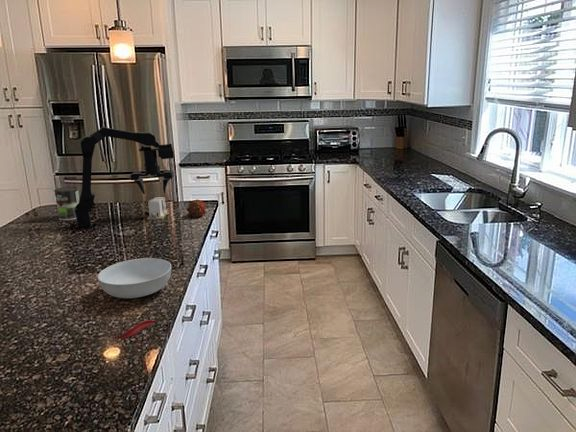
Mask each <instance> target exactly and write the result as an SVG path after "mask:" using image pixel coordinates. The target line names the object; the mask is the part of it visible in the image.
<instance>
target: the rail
mask: <svg viewBox="0 0 576 432" xmlns="http://www.w3.org/2000/svg"><path fill="white" fill-rule="evenodd" d="M156 199H161V201H162V211H163V214H162V215H161V217H158V213H153V214H152V215H153V216H152V217H150V215H148V216H147V217H146V221H161V220H164V218H165V217H166V215H167V213H169V208H166V207H167V205H166V197H165V196H164V197H162V196H161V197H160V196H159V197H157V196H156V197H154V198H153V199H152V200H156Z"/></svg>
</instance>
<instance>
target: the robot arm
mask: <svg viewBox="0 0 576 432" xmlns="http://www.w3.org/2000/svg"><path fill="white" fill-rule="evenodd" d="M107 137H108V138H115V139H119V140H126V141H133V142H136V143H138V144H141V145H140V147H139V148H138V151H139V152H143V153H142V154H143V162H144V172H145V173H142V172H141V171H136V172H135V171H134V172H132V173H131V174H130V175H129V176H130V181H133V182H134V183H136V185H137V186H138V187H139V188H140V190H141V192H142V194H143V195H146V190H145V186H144V185H145V184H144V179H145V178H163V179H162V189H163V194H166V190H167V186H168V184H169V183H168V182H169V181H171V179H173V178H174V177H175V172H174V171H173V170H164V171H163V172H161V166H160V165H159V163H158V158H160V160H171V159H175V158H174V157H175V155H174V154H175V152H174V149H173V145H172V143H167V144H160V143H159V142H157V141H156V137H155V135H154V134H153V133H152V132H149V131H135V132H134V131H128V130H122V129H118V128H117V129H116V128H109V127H107V126H102V127H101V128H100V129H98V130H96V131H95V132H93V133H92V134H90V135H84V136H83V137H82V138H81V140H80V148H81V154H82V176H81V177H82V179H81V181H82V184H81V190H80V194H79V203H78V204H77V206H76V207H75V211H74V212H75V214H76V219H75V220H76V226H74V229H88V228H89V229H90V228H91V227H92V226H93V225H94V224H95V223H94V222H92V221H91V215H90V214H91V213H90V210H91V209H92V208H93V206H94V205H95V197H96V195H95V193H96V192H92V161H93V155H94V152H95V147H96V144H98V143H99V142H100V141H102V140H103V139H104V138H107ZM143 145H144V146H143ZM151 146H152V147H153V148H152V147H151Z"/></svg>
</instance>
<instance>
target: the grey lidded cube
mask: <svg viewBox="0 0 576 432" xmlns="http://www.w3.org/2000/svg"><path fill="white" fill-rule="evenodd" d="M147 203H148V204H147V205H148V213H149V215H150V217H152V216H153V215H152V214H153V213H158V217H161V215H162V214H163V211H162V201H161V199H156V200H153V199H149V200H148V202H147ZM149 215H148V216H149Z"/></svg>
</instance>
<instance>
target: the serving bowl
mask: <svg viewBox="0 0 576 432" xmlns="http://www.w3.org/2000/svg"><path fill="white" fill-rule="evenodd" d="M171 274H172V264H171V262H170V261H167V260H165V259H161V258H154V257H143V258H142V257H141V258H135V259H128V260H123V261H120V262H117V263H114V264H112V265H109V266H107V267H106V268H104V269H102V270H101V271H99V273H98V275H97V280H98V284H99V286H100V287H101V289H102V290H103V291H104V293H106V294H107V295H110V296H112V297H115V298H118V299H137V298H143V297H146V296H149V295H152V294H154V293H156V292H159V291H160V290H161V289H162V288H164V287H165V286H166V285H167V283H168V282H169V280H170V279H171Z"/></svg>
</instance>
